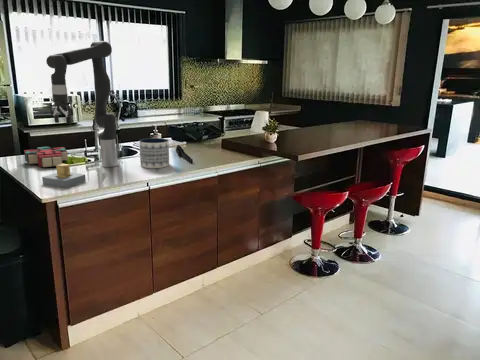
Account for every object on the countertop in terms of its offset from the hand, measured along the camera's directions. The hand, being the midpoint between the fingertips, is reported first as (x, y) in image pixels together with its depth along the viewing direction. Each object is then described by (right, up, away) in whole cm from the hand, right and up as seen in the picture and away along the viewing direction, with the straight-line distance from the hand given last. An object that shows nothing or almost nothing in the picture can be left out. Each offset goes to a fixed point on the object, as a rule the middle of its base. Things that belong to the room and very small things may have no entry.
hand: (62, 123), depth 217 cm
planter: (+43, -22, +36) cm, 61 cm away
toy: (-26, -21, +36) cm, 49 cm away
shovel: (+59, -17, +58) cm, 84 cm away
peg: (+4, -33, -6) cm, 34 cm away
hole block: (+4, -33, -6) cm, 34 cm away
